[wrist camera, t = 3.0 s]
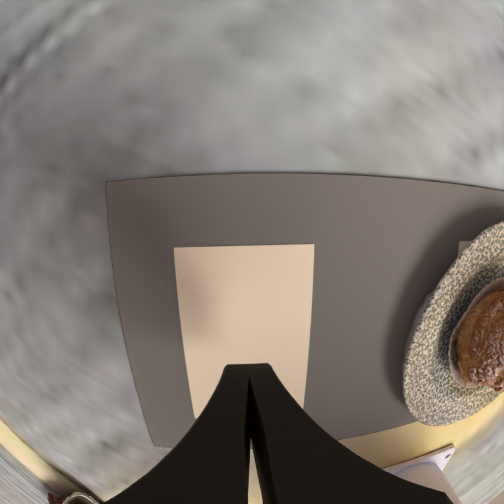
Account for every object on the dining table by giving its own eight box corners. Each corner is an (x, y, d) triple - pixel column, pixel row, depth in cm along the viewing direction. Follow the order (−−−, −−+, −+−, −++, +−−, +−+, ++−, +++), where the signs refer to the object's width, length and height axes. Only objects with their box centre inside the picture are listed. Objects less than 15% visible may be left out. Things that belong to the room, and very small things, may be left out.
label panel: (523, 374, 14) (525, 376, 14) (155, 442, 13) (154, 447, 13) (561, 203, 11) (564, 203, 11) (109, 182, 10) (105, 182, 10)
